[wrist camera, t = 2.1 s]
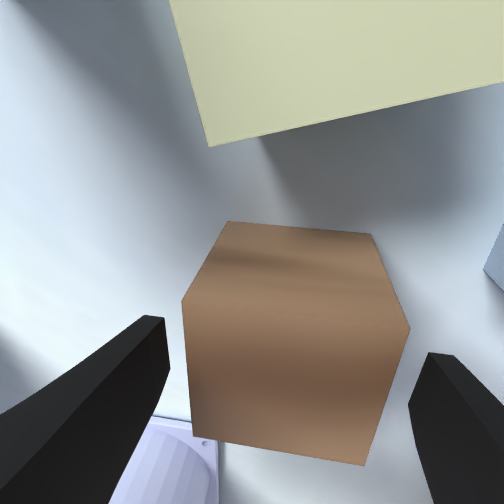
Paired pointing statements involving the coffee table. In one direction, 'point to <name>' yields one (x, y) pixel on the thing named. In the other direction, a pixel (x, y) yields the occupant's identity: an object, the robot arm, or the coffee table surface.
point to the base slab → (496, 261)
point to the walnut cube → (292, 341)
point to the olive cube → (330, 58)
